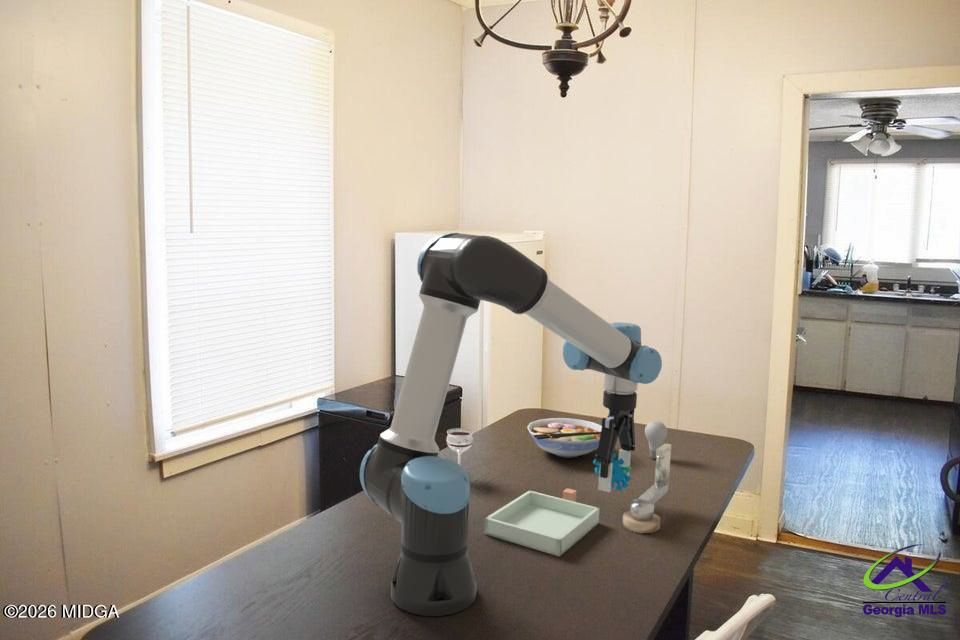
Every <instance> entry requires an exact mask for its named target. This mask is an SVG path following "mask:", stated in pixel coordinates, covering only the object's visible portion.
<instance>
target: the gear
mask: <svg viewBox="0 0 960 640" xmlns="http://www.w3.org/2000/svg"><path fill="white" fill-rule="evenodd" d="M596 456H597V453H596V454H595V457H596ZM616 457H618V456H617V454H616V453H615V452H614V453H613V456H612V460H611V463H612V464H613V465H612V479H611V490H612V489H613V488H614V487H615V490H616V491H617V492H618V491H619V492H621V490H623V489H626V488H628V487H629V486H630V485H629V483H628V482H630V481H631V478H632V477H631V476H630V475H629V476H628V475H626V474H627V473H628V472H629V473H630V471H631V470H632V466H631V465H630V466H627V467H622V466H620V465H622V464H623V463H624V461H623V459H622V458H620V459H619V460H618V459H617V460H615V458H616ZM592 464H593V465H595V466H596V467H595V468H594V473H595V474H597V475H599V470H600V462H596V458H595V459H594V460H593V462H592ZM619 464H620V465H619ZM623 477H624V478H623ZM597 481H598V482H599V477H598V478H597ZM615 484H616V486H615Z"/></svg>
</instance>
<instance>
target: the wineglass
mask: <svg viewBox="0 0 960 640" xmlns="http://www.w3.org/2000/svg"><path fill="white" fill-rule="evenodd" d="M446 433H447V436H446V444H447V446H448V447H449V448H450V449H451V450H452V451H453V452H455V453H456V454H457V463H458V464H460V465H461V460H462V459H461V458H462V456H461V455H462V454H463V453H464V452H466V451H468V450H470V448H471V447H472V445H473V441H474V438H473V436H472V435H473V434H474V431H473V430H471V429H469V428H463V427H462V428H461V427H460V428H459V427H456V428H450V429H448V430H447V431H446Z"/></svg>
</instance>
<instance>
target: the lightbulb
mask: <svg viewBox="0 0 960 640" xmlns="http://www.w3.org/2000/svg"><path fill="white" fill-rule="evenodd" d="M644 434H645V437H646V439H647V441H648V449H649V457H650V458H651V459H652V460H656V450H657V448H659V447H661V446H662V445H663V444H664V441H665V440H666V438H667V434H668V428H667V426H666V425H665V424H664V423H663V422H662V421H659V420H652V421H649V422H648V423H647V424H646V425H645V429H644Z"/></svg>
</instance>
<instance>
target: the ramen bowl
mask: <svg viewBox="0 0 960 640" xmlns="http://www.w3.org/2000/svg"><path fill="white" fill-rule="evenodd" d="M601 429H602V424H599V423H596V422H593V421H588V420H584V419H578V418H570V417H569V418H568V417H567V418H566V417H555V418H554V417H552V418H551V417H550V418H542V419H538V420H535V421H532V422H530V423H528V425H527V430H528V432H529V434H530V436H531V437H532V439H533V441H534V443H535V444H536V445H537V446H538V447H539V448H541V449H542V450H544V451H546V452H547V453H551V454H553V455H555V456H556V457H558V458H559V457H560V458H565V459H570V458H571V459H572V458H577V457H579V456H583V455H587V454H590V453H591V452H593V451H595V450H598V445H599V440H600V435H601Z"/></svg>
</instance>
